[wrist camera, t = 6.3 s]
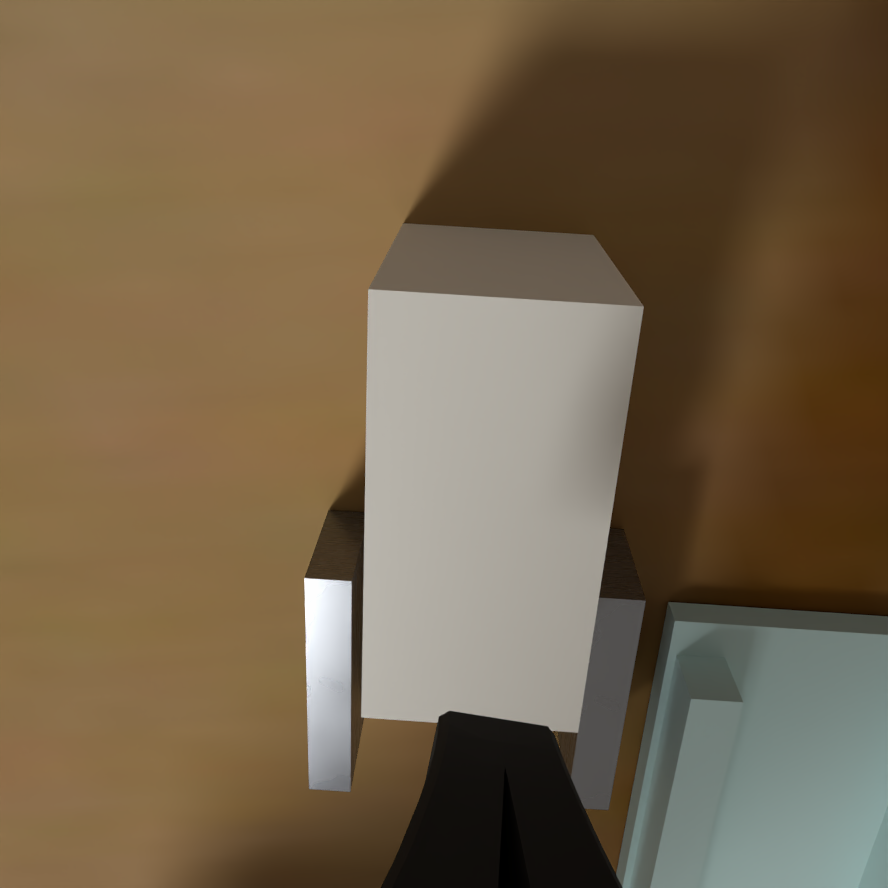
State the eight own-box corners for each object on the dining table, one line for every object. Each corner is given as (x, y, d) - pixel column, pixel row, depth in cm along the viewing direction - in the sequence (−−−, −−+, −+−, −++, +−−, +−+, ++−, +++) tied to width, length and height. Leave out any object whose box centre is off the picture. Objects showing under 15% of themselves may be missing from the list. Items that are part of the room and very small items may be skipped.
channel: (593, 721, 23) (608, 809, 20) (330, 702, 23) (309, 788, 20) (623, 529, 20) (646, 600, 17) (328, 510, 20) (304, 578, 18)
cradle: (865, 942, 26) (901, 1023, 24) (606, 923, 26) (618, 1002, 24) (988, 622, 21) (1047, 687, 19) (668, 601, 21) (689, 663, 19)
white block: (552, 559, 21) (577, 732, 15) (392, 548, 21) (361, 717, 15) (593, 234, 18) (643, 307, 12) (403, 222, 18) (368, 289, 12)
